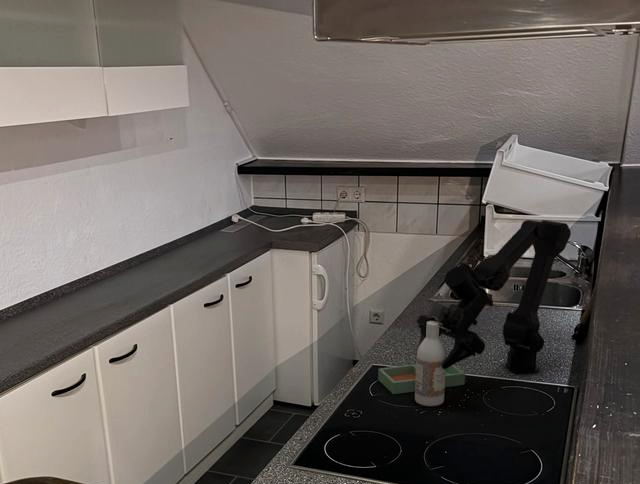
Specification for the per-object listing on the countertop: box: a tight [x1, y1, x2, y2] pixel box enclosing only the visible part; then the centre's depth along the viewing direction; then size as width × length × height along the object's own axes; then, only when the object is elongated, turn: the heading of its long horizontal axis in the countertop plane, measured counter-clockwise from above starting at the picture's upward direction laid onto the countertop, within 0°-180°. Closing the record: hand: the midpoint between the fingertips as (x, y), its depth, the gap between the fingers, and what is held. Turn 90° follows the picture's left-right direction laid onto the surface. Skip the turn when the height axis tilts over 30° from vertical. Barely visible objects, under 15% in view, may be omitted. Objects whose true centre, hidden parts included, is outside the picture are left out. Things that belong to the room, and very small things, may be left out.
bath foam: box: [414, 320, 447, 407], centre depth 181 cm, size 7×7×20 cm
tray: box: [377, 363, 466, 395], centre depth 195 cm, size 19×10×3 cm, turn 105°
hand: (429, 362), depth 180 cm, fingers open, 9 cm apart
